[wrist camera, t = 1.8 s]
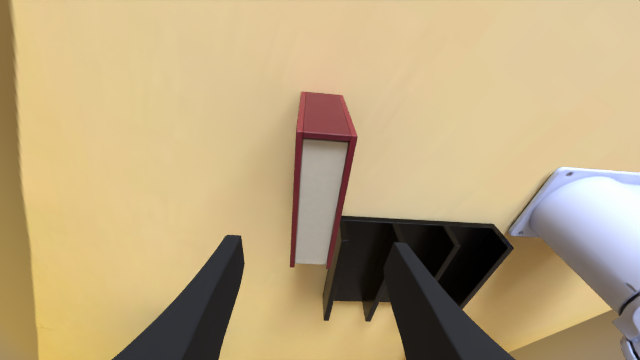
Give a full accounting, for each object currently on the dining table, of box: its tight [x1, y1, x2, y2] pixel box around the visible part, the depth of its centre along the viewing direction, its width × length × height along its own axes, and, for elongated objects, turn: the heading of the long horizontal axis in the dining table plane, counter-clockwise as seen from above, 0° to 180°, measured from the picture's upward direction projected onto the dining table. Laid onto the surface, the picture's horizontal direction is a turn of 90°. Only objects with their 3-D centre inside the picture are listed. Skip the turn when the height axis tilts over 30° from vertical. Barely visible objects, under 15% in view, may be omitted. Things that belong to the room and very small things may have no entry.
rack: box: [323, 216, 514, 322], centre depth 26 cm, size 16×14×3 cm
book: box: [290, 92, 357, 269], centre depth 16 cm, size 3×10×6 cm, turn 174°
